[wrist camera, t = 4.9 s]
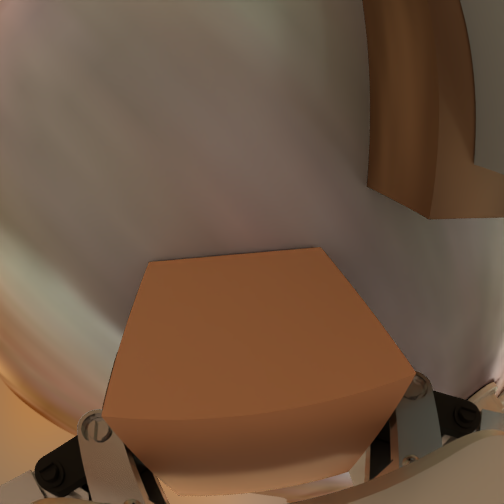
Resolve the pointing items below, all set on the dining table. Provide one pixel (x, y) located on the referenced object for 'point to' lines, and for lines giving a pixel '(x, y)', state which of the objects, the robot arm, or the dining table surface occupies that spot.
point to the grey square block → (487, 78)
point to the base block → (425, 111)
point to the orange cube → (251, 373)
